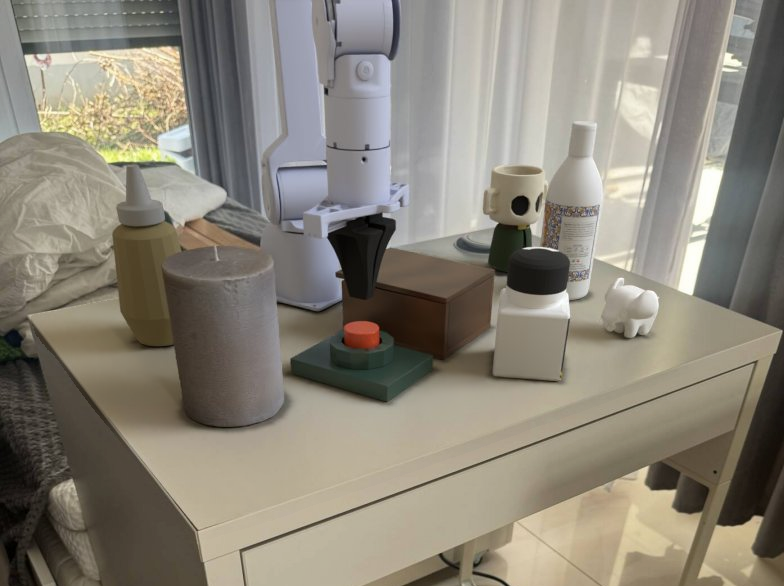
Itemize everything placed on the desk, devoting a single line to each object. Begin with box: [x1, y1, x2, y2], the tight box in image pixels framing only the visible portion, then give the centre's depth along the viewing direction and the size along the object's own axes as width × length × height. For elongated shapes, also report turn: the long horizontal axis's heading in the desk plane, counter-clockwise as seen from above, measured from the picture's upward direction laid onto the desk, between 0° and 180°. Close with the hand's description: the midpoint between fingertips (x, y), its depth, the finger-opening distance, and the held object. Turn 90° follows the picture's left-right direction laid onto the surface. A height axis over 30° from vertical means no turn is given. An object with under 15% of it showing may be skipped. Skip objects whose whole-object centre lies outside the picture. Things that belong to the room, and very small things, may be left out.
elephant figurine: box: [598, 277, 660, 339], centre depth 89 cm, size 7×8×6 cm
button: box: [344, 321, 379, 349], centre depth 79 cm, size 4×4×2 cm
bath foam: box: [539, 120, 604, 301], centre depth 96 cm, size 7×7×20 cm
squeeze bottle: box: [111, 163, 183, 347], centre depth 82 cm, size 8×8×18 cm
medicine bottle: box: [492, 246, 571, 382], centre depth 80 cm, size 7×7×12 cm
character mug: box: [482, 164, 549, 273], centre depth 106 cm, size 11×7×13 cm, turn 123°
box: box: [340, 275, 495, 361], centre depth 89 cm, size 13×11×6 cm
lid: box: [335, 246, 496, 304], centre depth 87 cm, size 14×11×1 cm
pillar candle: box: [161, 244, 285, 428], centre depth 70 cm, size 10×10×15 cm
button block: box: [289, 330, 434, 403], centre depth 80 cm, size 12×9×4 cm
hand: (361, 296), depth 77 cm, fingers closed
